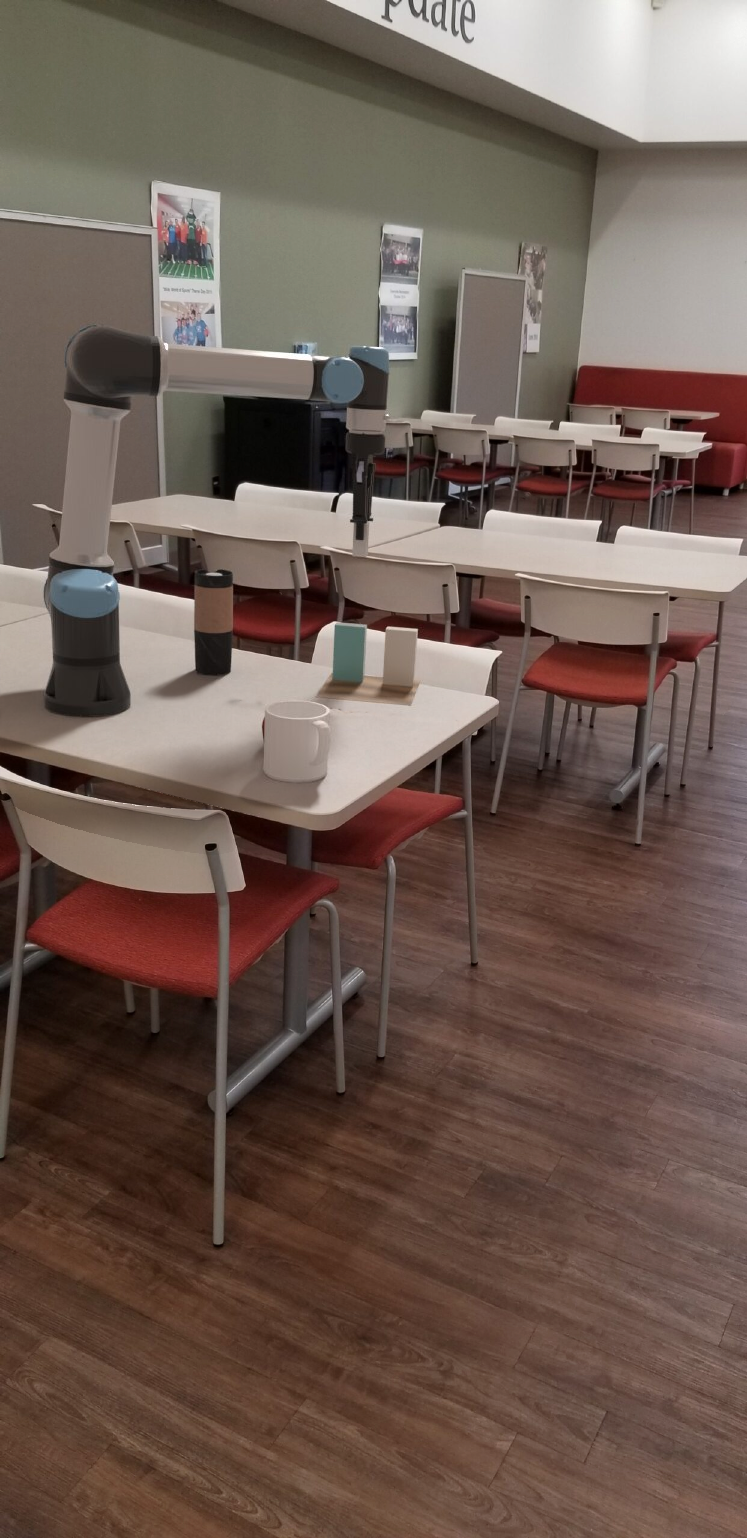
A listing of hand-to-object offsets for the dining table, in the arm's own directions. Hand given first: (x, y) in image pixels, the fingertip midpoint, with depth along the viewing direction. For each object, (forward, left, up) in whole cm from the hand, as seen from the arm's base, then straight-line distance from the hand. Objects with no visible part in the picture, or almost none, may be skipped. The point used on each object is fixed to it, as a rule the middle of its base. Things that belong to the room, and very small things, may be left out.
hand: (360, 555), depth 236 cm
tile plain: (-8, -10, -23) cm, 27 cm away
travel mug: (-6, +28, -25) cm, 38 cm away
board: (-13, -5, -24) cm, 28 cm away
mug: (-61, -1, -25) cm, 66 cm away
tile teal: (-8, 0, -23) cm, 25 cm away
